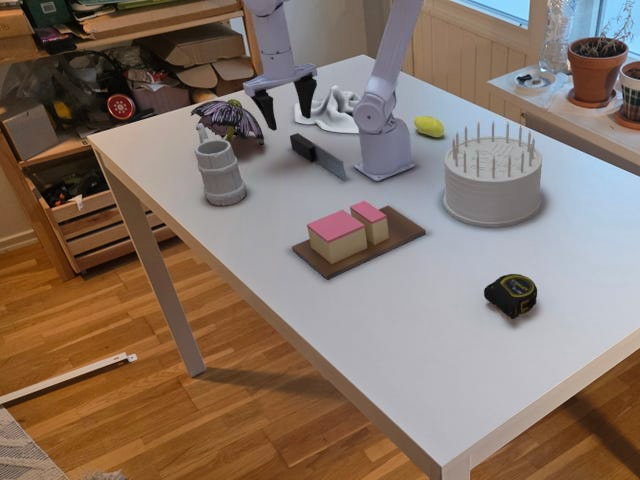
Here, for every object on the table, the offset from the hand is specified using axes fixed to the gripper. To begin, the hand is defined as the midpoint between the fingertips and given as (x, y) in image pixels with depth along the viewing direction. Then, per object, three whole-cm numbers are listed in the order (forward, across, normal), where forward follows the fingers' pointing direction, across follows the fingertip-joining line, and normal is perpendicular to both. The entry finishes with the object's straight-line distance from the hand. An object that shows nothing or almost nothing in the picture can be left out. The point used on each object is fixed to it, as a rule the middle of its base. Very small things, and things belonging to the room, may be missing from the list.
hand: (289, 122), depth 126 cm
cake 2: (+9, -18, +38) cm, 43 cm away
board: (+9, +8, +32) cm, 34 cm away
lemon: (+9, -28, +8) cm, 31 cm away
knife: (+9, -3, +3) cm, 10 cm away
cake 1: (+8, +12, +32) cm, 35 cm away
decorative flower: (+9, +6, -15) cm, 18 cm away
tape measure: (+9, +2, +62) cm, 63 cm away
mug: (+9, +16, 0) cm, 19 cm away
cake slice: (+8, +6, +32) cm, 34 cm away
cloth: (+9, -20, -14) cm, 26 cm away
